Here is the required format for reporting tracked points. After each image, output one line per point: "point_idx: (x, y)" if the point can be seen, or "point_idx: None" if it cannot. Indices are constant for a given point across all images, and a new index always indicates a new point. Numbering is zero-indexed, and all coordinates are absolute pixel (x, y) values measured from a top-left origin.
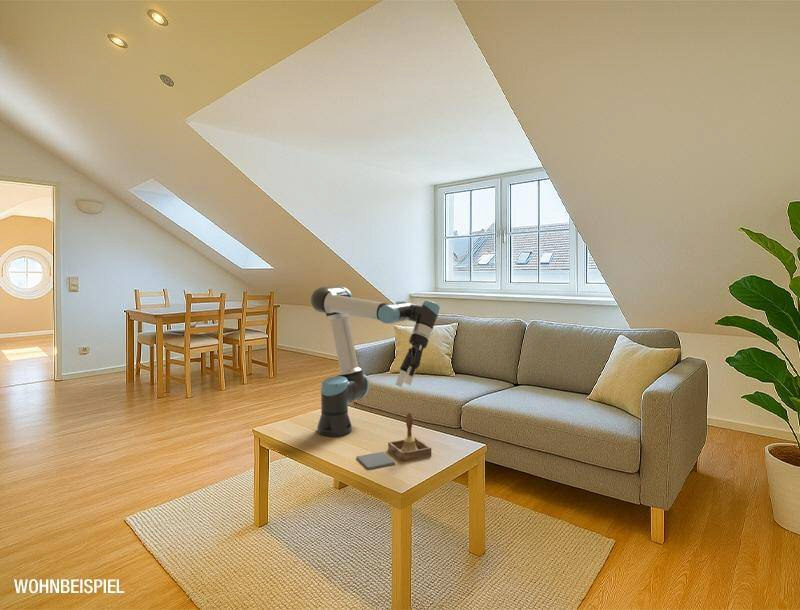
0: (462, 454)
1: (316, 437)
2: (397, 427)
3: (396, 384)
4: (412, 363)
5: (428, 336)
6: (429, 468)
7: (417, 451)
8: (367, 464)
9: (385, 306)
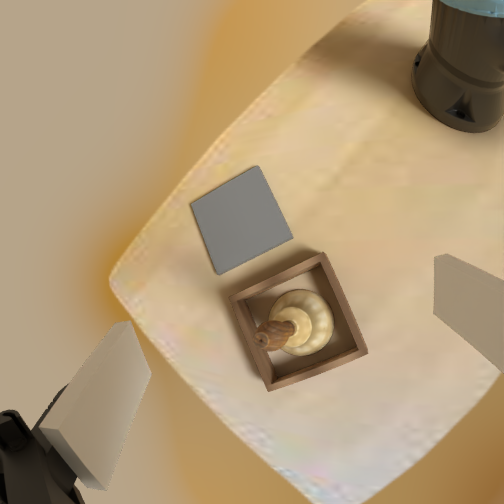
0: (279, 463)
1: (399, 54)
2: None
3: (434, 264)
4: (6, 465)
5: None
6: (195, 361)
7: (249, 345)
8: (207, 200)
9: None
